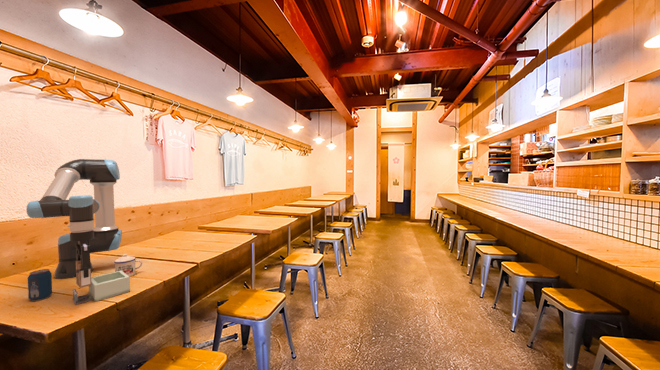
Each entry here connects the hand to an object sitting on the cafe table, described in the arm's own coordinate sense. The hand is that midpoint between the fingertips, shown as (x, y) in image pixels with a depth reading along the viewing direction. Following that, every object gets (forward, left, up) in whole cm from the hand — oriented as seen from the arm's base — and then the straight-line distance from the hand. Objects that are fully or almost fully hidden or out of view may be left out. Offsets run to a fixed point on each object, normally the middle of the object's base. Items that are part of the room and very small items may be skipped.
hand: (83, 281), depth 109 cm
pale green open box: (0, +8, -8) cm, 11 cm away
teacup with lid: (-20, +20, -8) cm, 30 cm away
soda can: (-18, -12, -8) cm, 23 cm away
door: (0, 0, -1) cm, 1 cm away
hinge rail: (0, 0, -8) cm, 8 cm away
